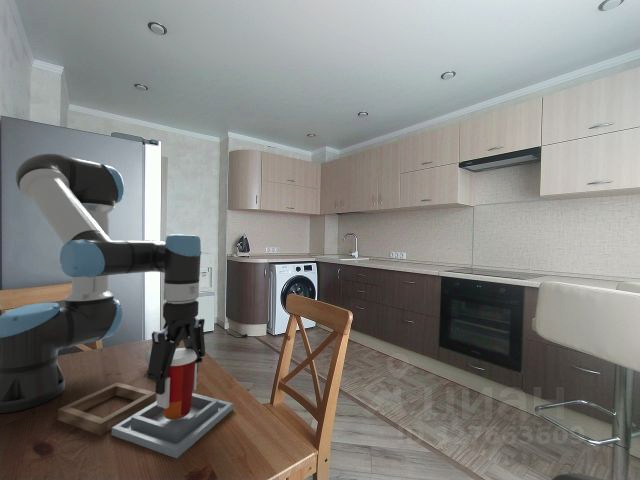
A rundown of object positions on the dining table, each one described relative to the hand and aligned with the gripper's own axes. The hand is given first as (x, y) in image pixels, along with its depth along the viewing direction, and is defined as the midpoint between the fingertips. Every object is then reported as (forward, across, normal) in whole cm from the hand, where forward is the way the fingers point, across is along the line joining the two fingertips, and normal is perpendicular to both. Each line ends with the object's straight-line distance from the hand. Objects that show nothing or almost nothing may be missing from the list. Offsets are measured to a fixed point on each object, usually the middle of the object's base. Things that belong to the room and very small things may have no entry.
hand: (177, 397), depth 69 cm
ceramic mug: (+6, +19, +24) cm, 31 cm away
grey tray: (+6, 0, 0) cm, 6 cm away
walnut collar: (+6, -3, +18) cm, 19 cm away
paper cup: (+4, 0, 0) cm, 4 cm away
